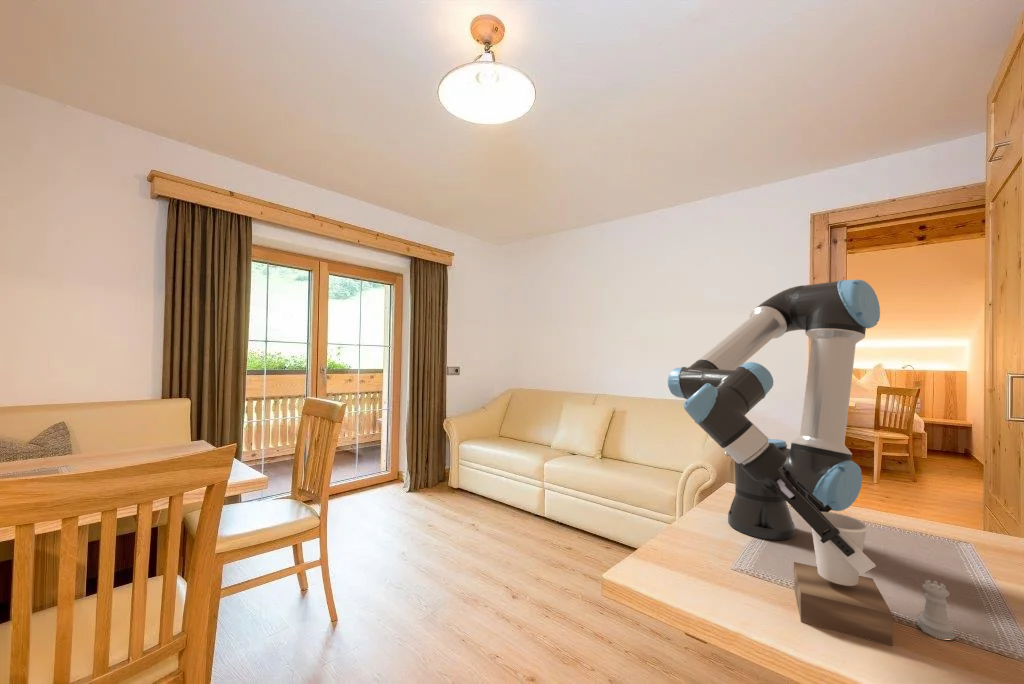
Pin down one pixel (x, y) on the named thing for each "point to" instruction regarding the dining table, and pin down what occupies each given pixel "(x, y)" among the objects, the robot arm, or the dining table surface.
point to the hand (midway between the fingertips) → (861, 557)
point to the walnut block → (843, 605)
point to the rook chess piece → (936, 612)
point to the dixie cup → (829, 558)
